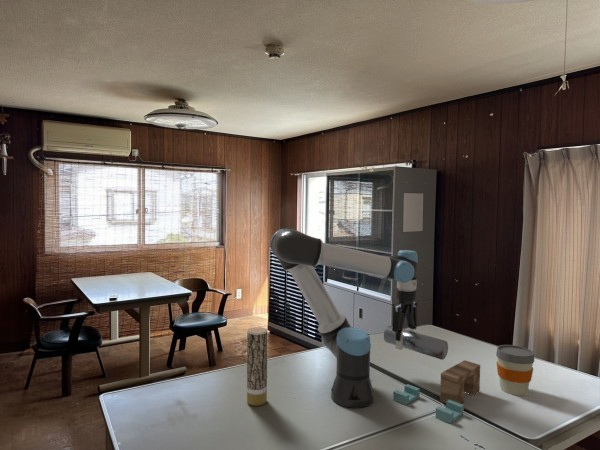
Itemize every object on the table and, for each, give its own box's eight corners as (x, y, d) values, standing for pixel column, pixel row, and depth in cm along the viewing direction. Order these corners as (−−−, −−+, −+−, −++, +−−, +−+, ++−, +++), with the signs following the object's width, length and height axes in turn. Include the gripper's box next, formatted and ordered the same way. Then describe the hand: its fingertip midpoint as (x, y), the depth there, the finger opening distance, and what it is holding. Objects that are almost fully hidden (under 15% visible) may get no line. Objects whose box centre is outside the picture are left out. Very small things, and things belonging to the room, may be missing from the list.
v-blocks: (450, 423, 127) (450, 414, 127) (393, 399, 142) (393, 391, 142) (463, 414, 133) (463, 405, 133) (407, 392, 148) (407, 384, 148)
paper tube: (248, 407, 135) (248, 333, 134) (245, 398, 142) (246, 327, 141) (268, 405, 137) (269, 332, 136) (264, 396, 144) (265, 326, 143)
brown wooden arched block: (456, 407, 137) (457, 378, 137) (440, 401, 142) (440, 373, 141) (479, 391, 150) (480, 364, 149) (463, 386, 154) (464, 360, 154)
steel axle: (447, 357, 152) (448, 339, 152) (438, 361, 147) (439, 342, 147) (393, 341, 170) (394, 324, 169) (383, 343, 165) (384, 326, 165)
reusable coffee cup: (487, 385, 155) (488, 346, 154) (512, 380, 159) (513, 343, 159) (515, 400, 143) (516, 358, 143) (541, 394, 148) (542, 354, 147)
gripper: (400, 294, 151) (398, 354, 152) (428, 288, 165) (425, 343, 166) (383, 290, 157) (381, 349, 158) (411, 285, 170) (409, 339, 171)
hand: (404, 346), depth 162 cm, fingers closed on steel axle, 7 cm apart
